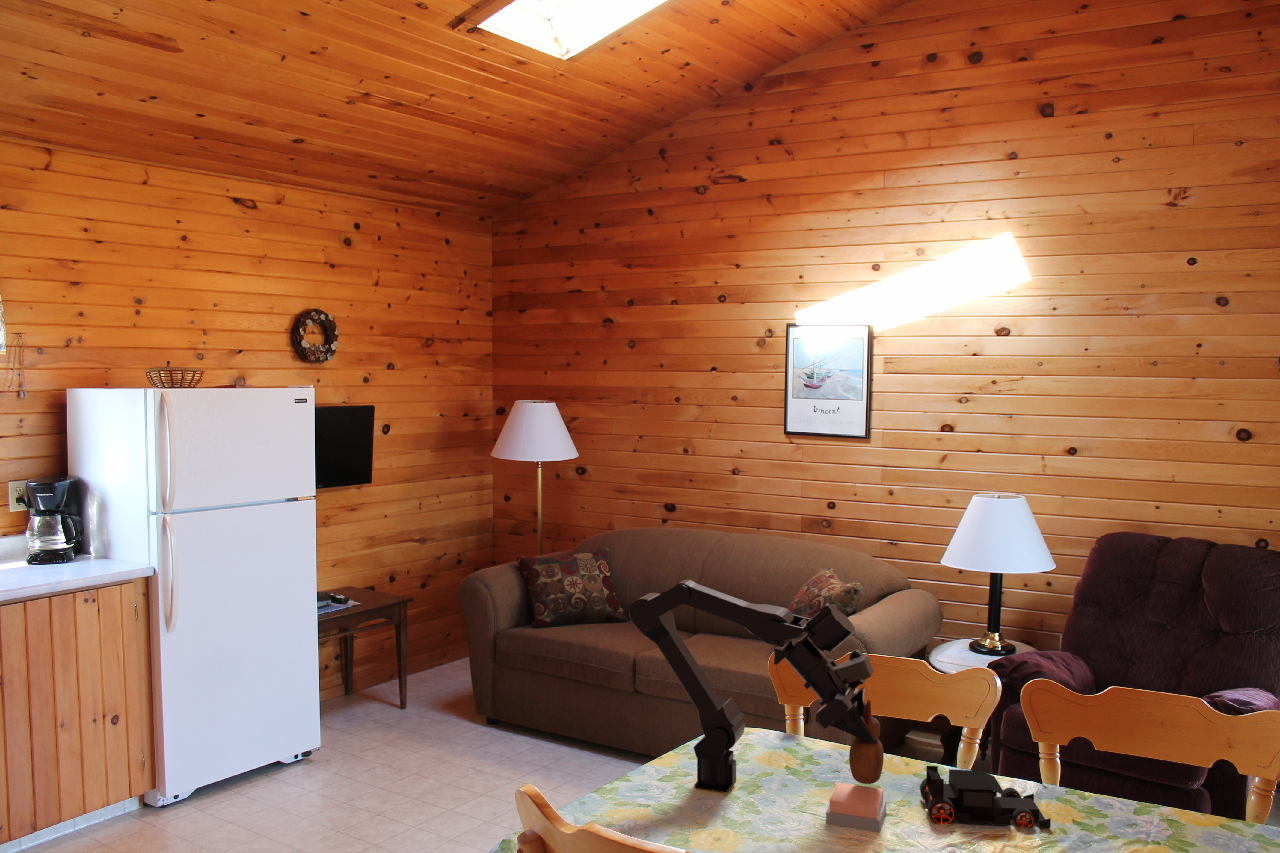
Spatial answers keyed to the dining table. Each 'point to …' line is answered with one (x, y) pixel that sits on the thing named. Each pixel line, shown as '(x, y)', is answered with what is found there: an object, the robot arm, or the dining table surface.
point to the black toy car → (977, 800)
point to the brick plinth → (856, 820)
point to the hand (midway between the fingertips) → (874, 736)
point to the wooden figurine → (867, 752)
